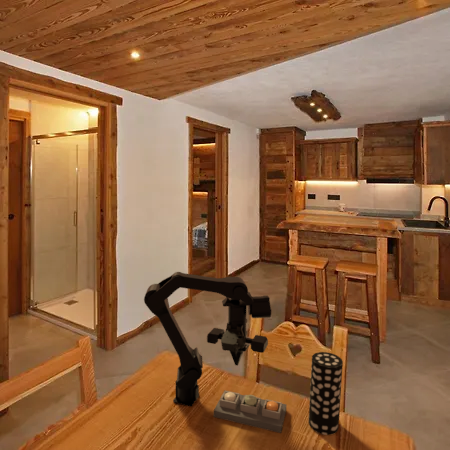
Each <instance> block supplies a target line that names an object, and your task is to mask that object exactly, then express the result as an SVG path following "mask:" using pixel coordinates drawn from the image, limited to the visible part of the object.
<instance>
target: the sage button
mask: <svg viewBox="0 0 450 450" xmlns="http://www.w3.org/2000/svg"><path fill="white" fill-rule="evenodd" d="M246 395H247V396H246V397H245V405H249V406H254V407H256V402H257V398H256V397H257V396H256V395H253V394H246Z"/></svg>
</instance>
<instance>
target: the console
mask: <svg viewBox="0 0 450 450" xmlns="http://www.w3.org/2000/svg"><path fill="white" fill-rule="evenodd" d="M228 392H232V393H234V394H235V395H236V400H235V402H232V401H227V400H224V395H225V394H226V393H228ZM247 395H248V394H241V393H239V392H234V391H229V390H224V391H223V392H222V394H221V396H220V398H219V399H218V401H217V404H216V405H215V407H214V409H213V418H217V419H221V420H225V421H229V422H232V423H233V422H234V423H237V424H238V423H239V424H242V425H246V426H250V427H254V428H259V429H262V430H267V431H270V432H275V433H279V434H282V431H283V428H284V427H283V426H284V424H285V423H284V422H285V418H286V412H287V404H286V403H283V402H280V401H276V400H272V399H267V398H266V399H263V398H261V397H257V396H256V398H257V402H256V407H254V406H249V405H245V397H246V396H247ZM269 401H274V402H276V403H277V404H278V412H276V411H272V410H267V409H266V407H267V402H269Z"/></svg>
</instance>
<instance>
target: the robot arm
mask: <svg viewBox="0 0 450 450" xmlns="http://www.w3.org/2000/svg"><path fill="white" fill-rule="evenodd" d="M181 288H182V289H188V290H189V289H190V290H194V291H203V292H211V293H215V294H219V295H221V296H224V297H225V298H224V299H223V300H222V301H221V303H222V306H223V307H227V313H228V314H227V320H228V321H227V323H226V329H223V328H217V327H213V328H211V330H210V331H209V333H207V335H206V342H207V343H208V344H213V345H215V344H217V343H218V342H219V340H220V344H221V348H222V350H223V351H229V353H230V354H231V358H232V360H233V363H234V366H239V364H240V362H241V360H242V356H243V354H244V352H246V351H247V350H248V349H249V347H250V349H251V350H252V352H255V353H260V354H261V353H264V352H265V351H266V349H267V347H268V345H269V339H268V338H267V336H264V335H260V334H255V336H254V337H253V338H252V337H250V336H247V335H248V331H247V323H248V318H247V315H248V316H251V318H252V319H268V318H269V319H270V318H272V308H271V301H270V297H269V295H262V296H261V295H260V296H259V295H258V296H255V295H254V296H252V294H251V292H249V288H248V286H247V284H246V282H245V280H244V278H242V277H240V276H226V277H210V276H206V275H205V276H204V275H197V274H190V273H184V272H181V271H175V272H174V273H173V274H171V275H170V276H169V277H166V278H164V279H163V280H161V281H159V282H158V283H153V284H151V285H149V286H148V288H147V290H146V291H145V294H144V298H143V301H144V304H145V306H146V308H148V309H149V311H150V312H151V313H152V314H153V315H154V316H156V317H157V318H158V319H159V323H160V324H161V326H162V327H163V329H164V331H165V333H166V334H167V337H168V338H169V340H170V343H171V344H172V346H173V347H174V350H175V351H176V353H177V355H178V359H179V363H180V365H179V366H178V367H177V375H176V376H177V377H176V380H175V383H174V384H175V397H174V399H173V400H172V402H173V403H175V404H179V405H183V406H187V407H193V406H194V404H195V403H196V401H197V400H198V399H199V398H200V397H199V396H200V393H199V391H200V386H199V384H198V380H199V379H200V378H201V377H202V376H203V375H202V374H203V368H204V367H203V355H202V354H200V352H199V349H198V347H195V348H194V349H193V348H192V347H191V346H190V345H189V343H188V341H187V339H186V337H185V335H184V333H183V331H182V330H181V327H180V326H179V323H178V322H177V320H176V318H175V316H174V314H173V312H172V310H171V308H170V304H169V297H171V295H172V294H174V293H175V292H176V291H177V290H179V289H181ZM247 313H248V314H247Z"/></svg>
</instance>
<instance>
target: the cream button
mask: <svg viewBox="0 0 450 450" xmlns="http://www.w3.org/2000/svg"><path fill="white" fill-rule="evenodd" d="M232 392H233V391H230V392H228V393H226V394H225V395H224V400H227V401H232V402H235V400H236V395H235V394H234V393H232Z"/></svg>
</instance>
